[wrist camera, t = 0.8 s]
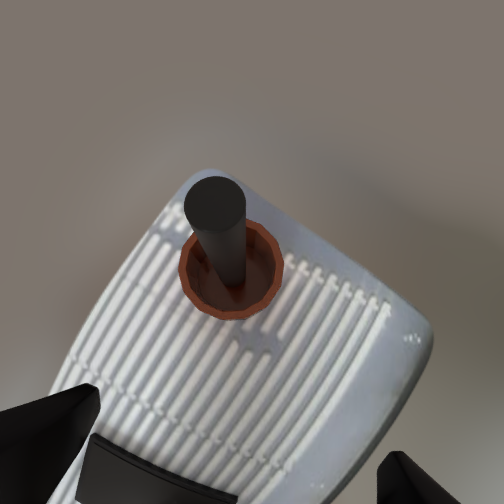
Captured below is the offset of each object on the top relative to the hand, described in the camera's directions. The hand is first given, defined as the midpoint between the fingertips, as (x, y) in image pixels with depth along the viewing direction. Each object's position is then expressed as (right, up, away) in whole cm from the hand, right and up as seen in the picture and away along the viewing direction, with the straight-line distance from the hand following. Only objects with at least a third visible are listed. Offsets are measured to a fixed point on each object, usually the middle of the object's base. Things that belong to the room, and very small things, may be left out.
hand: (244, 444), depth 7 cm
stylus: (-1, +3, +15) cm, 15 cm away
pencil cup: (-1, +3, +15) cm, 16 cm away
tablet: (-9, -16, +11) cm, 21 cm away
